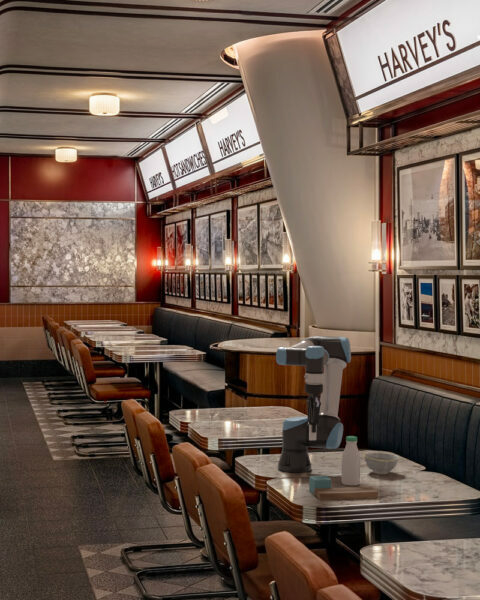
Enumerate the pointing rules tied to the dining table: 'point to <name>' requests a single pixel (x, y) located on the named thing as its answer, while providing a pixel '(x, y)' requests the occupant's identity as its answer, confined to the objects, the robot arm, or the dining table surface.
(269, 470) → the dining table surface
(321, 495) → the board
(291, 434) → the robot arm
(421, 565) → the dining table surface
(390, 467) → the bowl
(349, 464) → the milk bottle
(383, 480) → the dining table surface
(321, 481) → the block
